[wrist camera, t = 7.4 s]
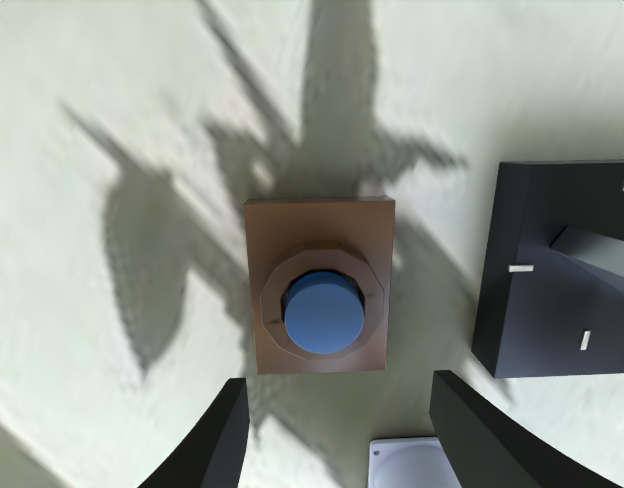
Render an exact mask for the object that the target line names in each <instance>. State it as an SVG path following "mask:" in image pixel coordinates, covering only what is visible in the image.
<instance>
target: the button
mask: <svg viewBox="0 0 624 488" xmlns="http://www.w3.org/2000/svg"><path fill="white" fill-rule="evenodd" d="M363 323H364V311H363V307H362V304H361V302H360V299H359V297H358V294H357V292H356V290H355V288H354V286H353V285H352V284H351V283H350V282H349V281H348V280H347V279H346V278H344V277H342V276H341V275H338V274H336V273H332V272H315V273H311V274H308V275H306V276H304V277H302V278H301V279H299V280H298V281H297V282H296V283H295V284H294V285H293V286H292V288H291V289H290V291H289V293H288V296H287V299H286V307H285V327H286V330H287V332H288V334H289V336H290V338H291V339H292V340H293V341H294V342H295V343H296V344H297V345H298V346H300V347H301V348H303V349H305V350H307V351H309V352H313V353H319V354H327V353H333V352H337V351H340V350H342V349H344V348H346V347H347V346H349V345H350V344H351V343H352V342H353V341H354V340H355V339H356V338H357V337H358V335H359V334H360V332H361V329H362V327H363Z"/></svg>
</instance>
